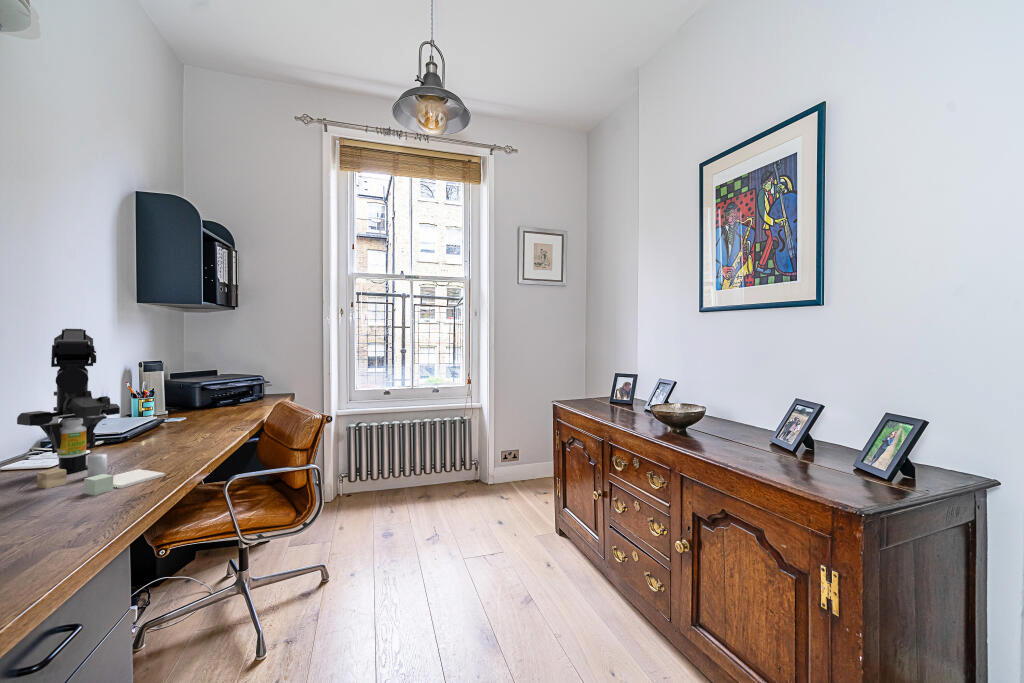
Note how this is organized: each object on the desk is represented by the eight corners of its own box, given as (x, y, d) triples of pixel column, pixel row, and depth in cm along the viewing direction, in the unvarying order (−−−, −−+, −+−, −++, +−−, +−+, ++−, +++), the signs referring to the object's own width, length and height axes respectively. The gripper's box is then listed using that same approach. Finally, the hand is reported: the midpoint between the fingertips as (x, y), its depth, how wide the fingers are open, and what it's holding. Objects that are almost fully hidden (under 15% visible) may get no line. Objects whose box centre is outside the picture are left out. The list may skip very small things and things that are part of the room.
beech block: (37, 487, 114) (37, 472, 114) (56, 482, 117) (57, 468, 117) (46, 489, 112) (47, 474, 112) (66, 484, 116) (66, 469, 116)
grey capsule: (84, 477, 122) (84, 456, 122) (101, 473, 125) (101, 453, 125) (93, 479, 121) (93, 458, 120) (110, 474, 124) (110, 454, 124)
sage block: (84, 493, 110) (84, 478, 110) (102, 488, 114) (103, 473, 114) (94, 495, 109) (94, 480, 109) (113, 490, 112) (113, 475, 112)
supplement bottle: (67, 458, 109) (67, 421, 109) (51, 457, 110) (51, 420, 110) (91, 453, 115) (92, 417, 115) (76, 452, 116) (76, 416, 116)
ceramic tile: (93, 483, 117) (93, 480, 117) (138, 471, 127) (138, 469, 127) (121, 488, 114) (121, 485, 114) (164, 475, 124) (164, 473, 124)
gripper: (44, 393, 101) (44, 458, 101) (133, 385, 119) (133, 440, 119) (16, 390, 104) (15, 453, 104) (106, 383, 122) (106, 437, 122)
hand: (71, 445), depth 113 cm, fingers closed on supplement bottle, 5 cm apart
